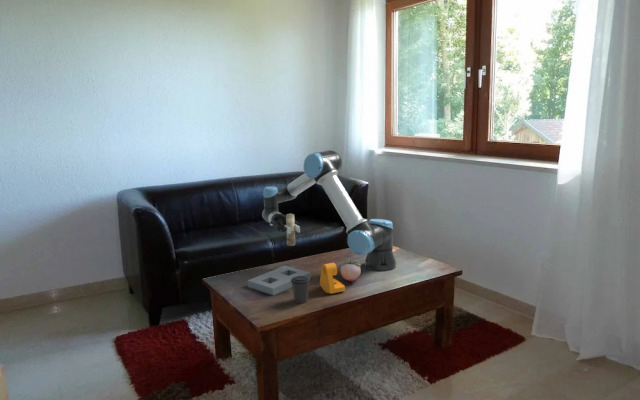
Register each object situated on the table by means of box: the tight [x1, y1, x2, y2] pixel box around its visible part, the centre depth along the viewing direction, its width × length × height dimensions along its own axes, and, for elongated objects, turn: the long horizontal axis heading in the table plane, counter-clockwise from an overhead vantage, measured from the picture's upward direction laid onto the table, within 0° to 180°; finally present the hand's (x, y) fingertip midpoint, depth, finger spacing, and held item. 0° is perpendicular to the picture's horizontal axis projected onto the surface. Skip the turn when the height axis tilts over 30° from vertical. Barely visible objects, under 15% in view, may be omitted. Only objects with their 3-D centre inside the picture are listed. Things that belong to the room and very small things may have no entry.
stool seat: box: [247, 265, 312, 296], centre depth 218 cm, size 24×16×3 cm, turn 140°
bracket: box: [319, 262, 346, 295], centre depth 208 cm, size 11×7×12 cm, turn 24°
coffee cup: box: [291, 276, 311, 304], centre depth 197 cm, size 8×8×10 cm
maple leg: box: [285, 213, 296, 247], centre depth 235 cm, size 4×4×15 cm
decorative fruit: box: [339, 259, 362, 283], centre depth 216 cm, size 9×8×10 cm
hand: (294, 230), depth 230 cm, fingers closed on maple leg, 4 cm apart
